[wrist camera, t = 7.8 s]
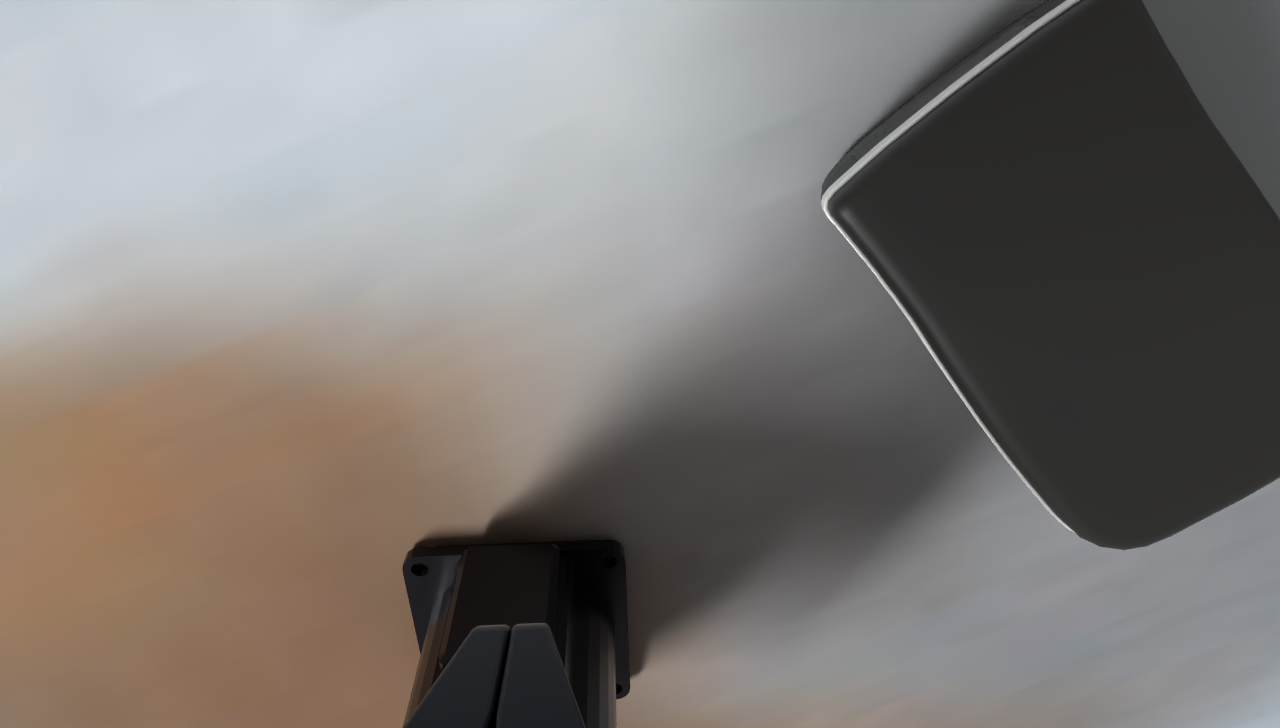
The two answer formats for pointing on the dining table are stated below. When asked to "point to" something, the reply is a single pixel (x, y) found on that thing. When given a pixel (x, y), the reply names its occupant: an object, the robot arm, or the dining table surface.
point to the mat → (1232, 74)
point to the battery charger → (1083, 268)
